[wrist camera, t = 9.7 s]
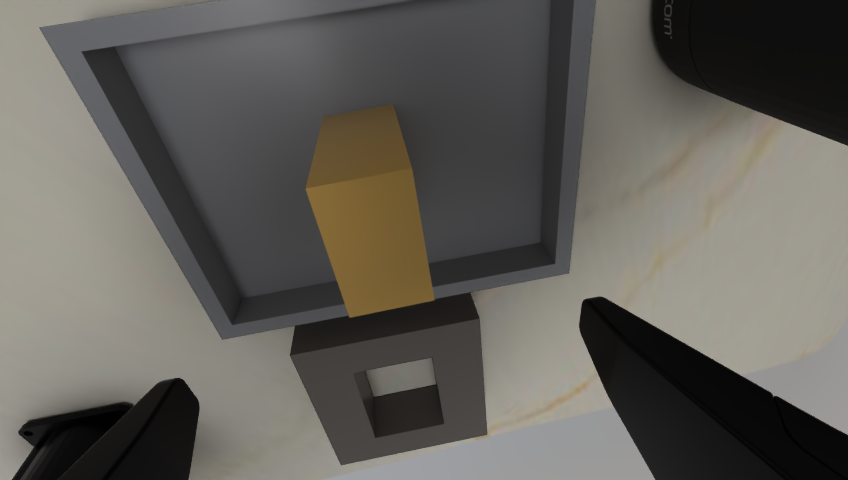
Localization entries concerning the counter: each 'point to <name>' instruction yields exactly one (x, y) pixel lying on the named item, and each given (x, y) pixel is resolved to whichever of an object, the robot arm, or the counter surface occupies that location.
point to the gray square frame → (384, 346)
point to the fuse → (369, 211)
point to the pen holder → (764, 56)
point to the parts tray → (300, 125)
